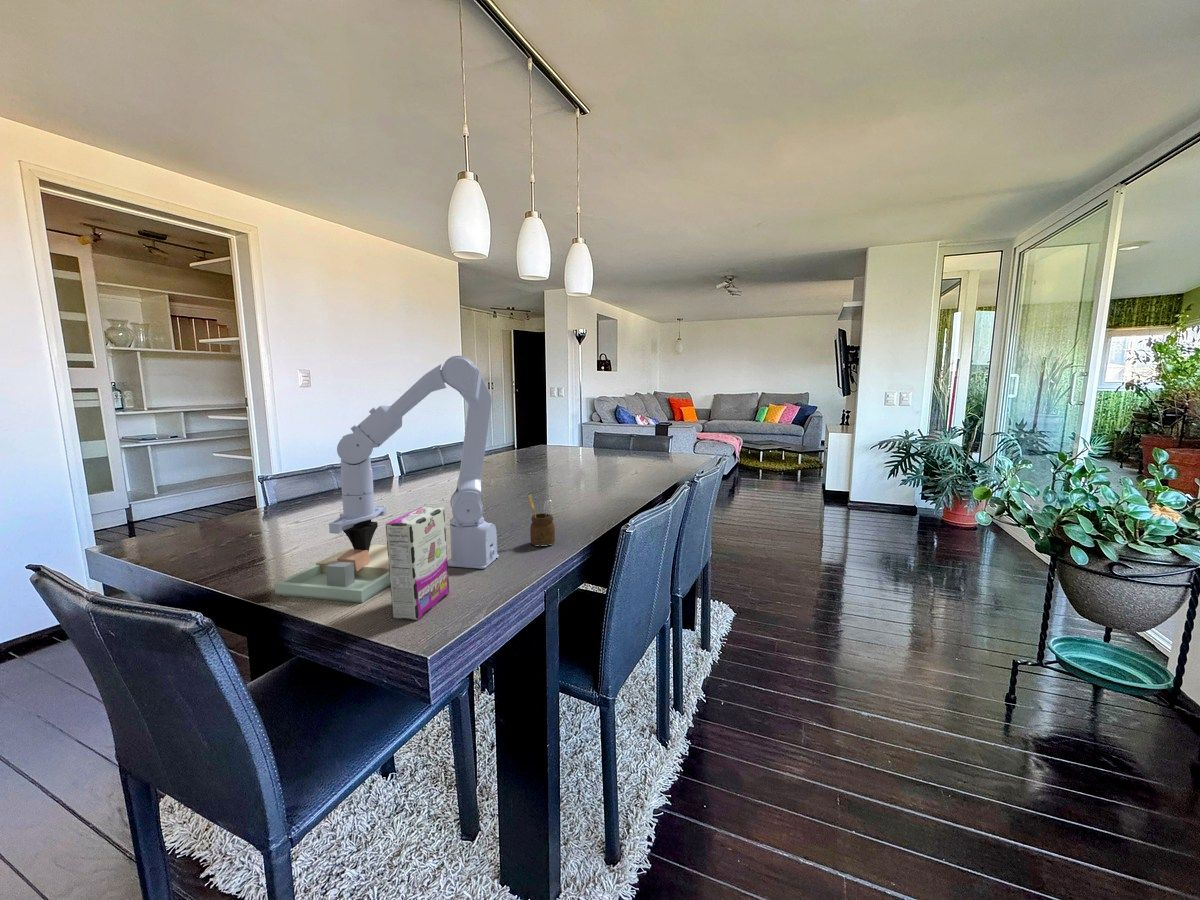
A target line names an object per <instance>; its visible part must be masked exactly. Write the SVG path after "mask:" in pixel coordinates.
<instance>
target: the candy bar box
mask: <svg viewBox="0 0 1200 900" xmlns="http://www.w3.org/2000/svg"><path fill="white" fill-rule="evenodd" d="M445 514H446V513H445V507H438V506H420V507H418V508H416V509H414V510H412V511H409V512H408V513H405V514H403V515H401V516H399V517H397V518H395V519H393V520H391V521H388V522H386V523H385V533H386V534H385V535H386V545H387V549H388V562H389V573H390V586H389V587H390V597H391V599H390V600H391V613H392V618H393V619H395V620H396V619H397V620H411V621H412V620H413V621H419V620H420V619H421V618H422V617H423V615H424V616H425V615H426V614H428V612H429V611H431V609H433V608H434V607H435V606H436V605H438V603H440V602H441V601H443V599H444V598H446V597H447V595H449V594H450V581H449V566H448V563H447V561H448V551H447V534H446V533H447V532H446V518H445V516H446V515H445Z"/></svg>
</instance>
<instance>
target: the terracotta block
mask: <svg viewBox="0 0 1200 900" xmlns="http://www.w3.org/2000/svg"><path fill="white" fill-rule="evenodd" d="M337 561H338V562H351V563H353V564H354V571H358V570H360V569H361V568H362V567H364V566H365V565H366V564H368V563H369V562H370V557H369V552H368V550H357V549H350V550H349V551H347V552H346V553H344V554H343V555H342V556H340V557H339V558H337Z"/></svg>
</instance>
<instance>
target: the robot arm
mask: <svg viewBox="0 0 1200 900" xmlns="http://www.w3.org/2000/svg"><path fill="white" fill-rule="evenodd" d="M445 383H446V384H447V385H448V386H449V387H450V388H452V389H454V390H455V391H457V392H458V393H459V395H460V396H461V397H462V398H463V399H464V401H466V402H467V404H468V407H467V415H466V423H465V428H464V429H465V430H464V437H463V444H462V451H461V452H462V453H461V459H460V460H461V461H460V466H459V474H458V480H457V482H456V488H455V490H454V492H453V493H452V495H451V497H450V507H451V513H452V518H450V520H449V536H450V558H449V559H447V563H448V567H451V568H453V567H454V568H466V569H481V570H482V569H484V570H485V569H486V568H488V566H490V565H491V564H492V563H493V562H494V561H495V560H497V559H498V558H499V557H500V555H499V554H498V534H497V533H498V531H497V527H496V524H495V523H491V522H487V521H485V518H484V516H483V515H484V505H483V501H482V500H481V496H482V476H483V468H484V462H485V461H484V460H485V453H486V446H487V438H488V433H489V432H488V431H489V424H490V419H491V418H490V415H491V412H492V411H491V409H492V402H493V399H492V398H493V397H492V394H491V393H490V391H489V389H488V386H487V384H486V382H485V380H484V378H483V376H482V374H481V371H480V369H479V368H478V367H477V365H476V364H475V363H473V362H472V360H470V359H469V358H467V357H466V356H463V355H452V356H450V357H449V358H448V359H446V360H445V362H444V364H443V365H442V364H441V363H440V364H439V365H437V366H436V367H434V368H432V369H431V370H430V371H428V372H426V373H425V374H423V376H422V377H420V378H419V379H418V380H417V381H416V382H415V383H414V384H413V385H412V386H411V387H410V388H409V389H408V390H406V391H405V392H404V393H403V394H402V395H401V396H400V397H399V398H398V399H396V400H395V402H393V403H392V404H391V405H379V406H378V407H377V408H376V407H372V408H371V409H370V410H368V412H369V415H368V416H366V418H364V419H363V420H362V421H361V422H360V423H359V424H358V425H355V424H354V425H353V426H351V427H350V430H351V431H352V432H351V433H348V434H345V435H343V436H342V438H341V439H340V440H339V442H338V443H337V445H336V447H337V448H336V453H337V455H338V457H339V458H340V467H341V470H340V483H341V484H340V485H341V497H342V498H341V499H342V500H341V501H342V513H339V517H338V518H337V519H336V520H334V521H331V522H329V523H328V531H329V534H335V535H336V534H337V535H340V534H341V533H344V534H345V535H346V536H347V538H348V540H349V541H350V543H351V545H352V546H353V548H354V549H357V550H368V552H369V548H370V544H372V539H373V537H374V534H375V532H376V530H377V528H378V527H379V525H378V523H379V522H378V521H372V520H373V519H377V518H379V517H380V516H382V517H385V516H387V506H385V505H375V493H374V492H375V491H374V490H375V489H374V475H373V468H372V462H371V461H372V460H371V455H372V452H373V450H374V448H379V447H381V446H382V444H384V443H385V442H386V441H387V440H389V439H390V437H391V436H393V435H394V434H395V433H396V432H397V431H398V430H400V429H401V428H402V427H403V417H404V416H405V415H406V414H407V413H409V412H410V411H411V410H412V409H413V408H415V406H417V405H418V404H419V403H421V402H422V401H423V400H424V399H426V397H427V396H428V395H430V394H432V392H437V391H441V390H443V389H447V386H446V384H445ZM352 546H351V547H352ZM496 558H497V559H496Z"/></svg>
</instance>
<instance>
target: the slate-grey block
mask: <svg viewBox="0 0 1200 900" xmlns="http://www.w3.org/2000/svg"><path fill="white" fill-rule="evenodd" d="M326 577H327V586H338V587H348V586H350V585H351V584H353V583H355V579H354V564H353V563H351V562H337V561H335V562H333V563H331V564H329V565H327V566H326Z"/></svg>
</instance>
